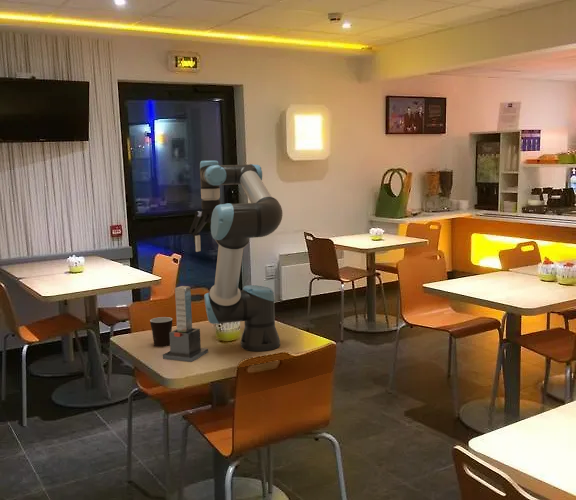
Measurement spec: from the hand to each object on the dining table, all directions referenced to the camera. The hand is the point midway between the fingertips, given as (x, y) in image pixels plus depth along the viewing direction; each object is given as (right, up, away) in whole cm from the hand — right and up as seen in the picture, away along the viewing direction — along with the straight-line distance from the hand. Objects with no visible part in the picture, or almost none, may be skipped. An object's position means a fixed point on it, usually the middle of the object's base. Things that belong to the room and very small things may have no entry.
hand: (212, 252), depth 251 cm
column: (-8, -31, -23) cm, 39 cm away
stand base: (-7, -38, -22) cm, 45 cm away
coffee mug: (-19, -36, -5) cm, 41 cm away
